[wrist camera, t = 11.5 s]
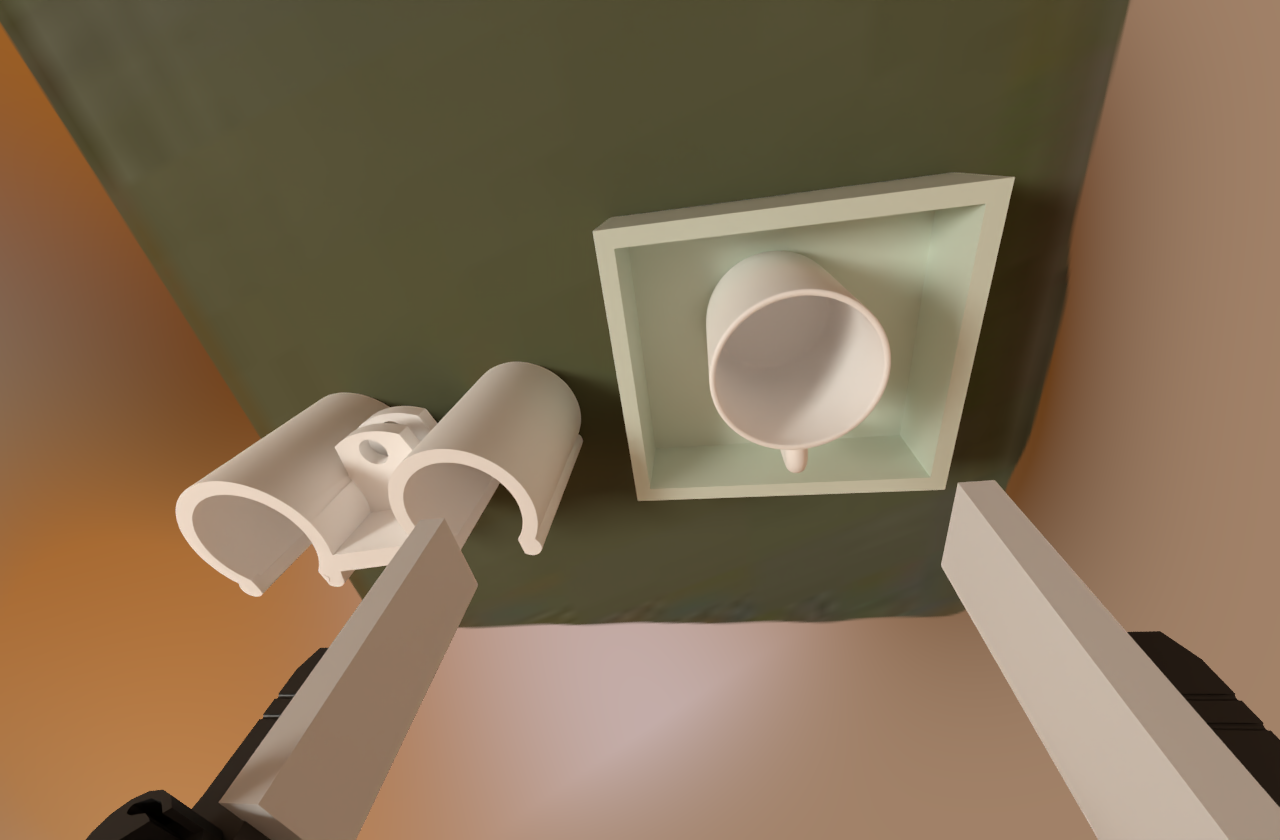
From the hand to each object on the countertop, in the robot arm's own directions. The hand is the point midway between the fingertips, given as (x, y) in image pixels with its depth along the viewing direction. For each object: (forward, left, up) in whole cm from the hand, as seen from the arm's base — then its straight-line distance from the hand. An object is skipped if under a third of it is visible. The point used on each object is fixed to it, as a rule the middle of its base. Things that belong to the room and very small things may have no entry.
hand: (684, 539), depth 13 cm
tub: (+3, +5, -23) cm, 23 cm away
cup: (+3, +5, -22) cm, 23 cm away
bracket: (+8, -22, -23) cm, 33 cm away
